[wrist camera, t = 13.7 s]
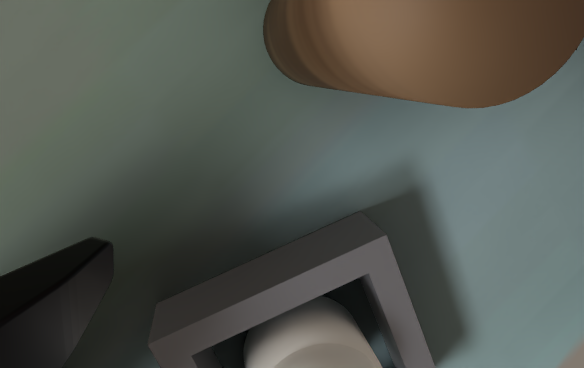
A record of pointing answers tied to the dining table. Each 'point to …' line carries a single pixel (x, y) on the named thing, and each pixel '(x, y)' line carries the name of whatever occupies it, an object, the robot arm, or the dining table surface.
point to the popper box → (291, 296)
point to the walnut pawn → (424, 46)
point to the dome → (309, 339)
